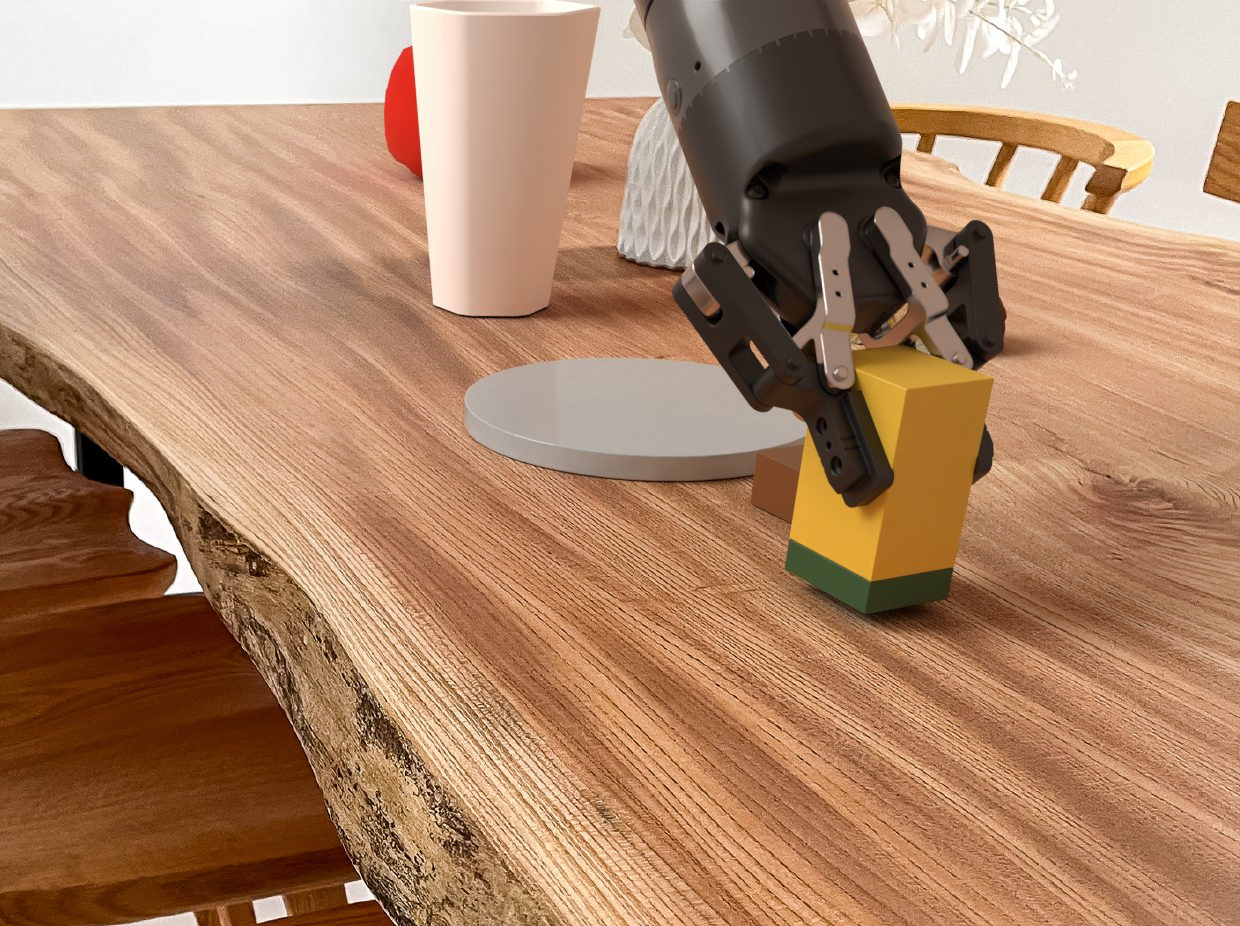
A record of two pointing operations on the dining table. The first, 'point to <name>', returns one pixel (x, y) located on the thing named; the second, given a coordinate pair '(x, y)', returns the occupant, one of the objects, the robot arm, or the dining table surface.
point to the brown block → (777, 480)
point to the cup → (498, 143)
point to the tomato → (403, 114)
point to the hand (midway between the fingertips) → (921, 487)
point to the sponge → (896, 486)
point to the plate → (626, 419)
